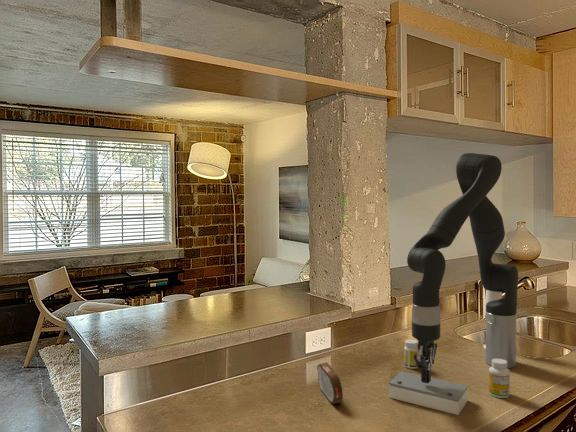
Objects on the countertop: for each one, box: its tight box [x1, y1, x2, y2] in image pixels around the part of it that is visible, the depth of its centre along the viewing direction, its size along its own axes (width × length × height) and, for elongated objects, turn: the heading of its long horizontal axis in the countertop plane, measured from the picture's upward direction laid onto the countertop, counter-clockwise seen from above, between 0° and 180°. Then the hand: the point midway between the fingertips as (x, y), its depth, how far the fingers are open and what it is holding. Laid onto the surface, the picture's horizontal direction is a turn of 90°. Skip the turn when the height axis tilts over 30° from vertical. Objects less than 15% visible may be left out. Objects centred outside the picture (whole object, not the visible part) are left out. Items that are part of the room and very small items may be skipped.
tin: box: [316, 361, 344, 405], centre depth 132 cm, size 15×3×8 cm, turn 14°
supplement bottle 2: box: [488, 359, 511, 399], centre depth 131 cm, size 5×5×10 cm
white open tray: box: [388, 384, 469, 416], centre depth 129 cm, size 10×19×4 cm, turn 55°
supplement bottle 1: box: [403, 339, 418, 370], centre depth 153 cm, size 5×5×8 cm
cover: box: [388, 371, 468, 401], centre depth 129 cm, size 10×19×1 cm, turn 55°
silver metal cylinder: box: [483, 289, 504, 349], centre depth 169 cm, size 7×7×24 cm
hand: (426, 381), depth 128 cm, fingers closed
